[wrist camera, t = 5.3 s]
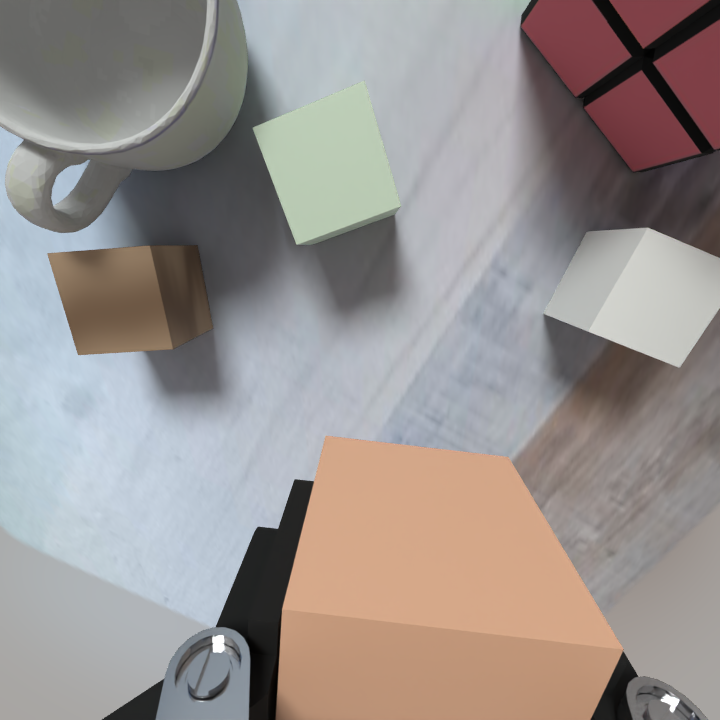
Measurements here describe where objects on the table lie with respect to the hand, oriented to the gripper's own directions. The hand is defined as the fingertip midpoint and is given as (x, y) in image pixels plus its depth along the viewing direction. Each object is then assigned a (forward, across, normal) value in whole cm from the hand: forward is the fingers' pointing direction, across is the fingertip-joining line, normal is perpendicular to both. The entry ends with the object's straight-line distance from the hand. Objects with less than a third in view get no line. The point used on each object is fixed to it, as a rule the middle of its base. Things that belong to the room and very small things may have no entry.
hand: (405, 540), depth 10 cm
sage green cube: (+15, +4, -10) cm, 18 cm away
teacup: (+15, +14, -13) cm, 24 cm away
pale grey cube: (+15, -12, -6) cm, 20 cm away
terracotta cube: (+1, 0, 0) cm, 1 cm away
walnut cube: (+15, +14, -3) cm, 20 cm away
